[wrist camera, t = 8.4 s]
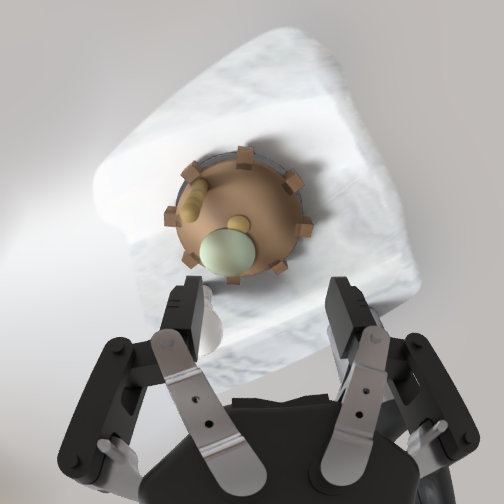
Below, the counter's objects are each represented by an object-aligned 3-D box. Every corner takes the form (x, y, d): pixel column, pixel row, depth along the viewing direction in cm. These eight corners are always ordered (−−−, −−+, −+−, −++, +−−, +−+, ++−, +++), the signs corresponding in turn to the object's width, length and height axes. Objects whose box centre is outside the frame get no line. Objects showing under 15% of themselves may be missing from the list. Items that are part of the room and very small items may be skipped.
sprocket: (249, 115, 26) (251, 125, 19) (335, 226, 34) (359, 269, 26) (141, 211, 32) (112, 251, 24) (232, 294, 39) (230, 345, 31)
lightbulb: (235, 288, 39) (233, 351, 30) (207, 312, 42) (200, 372, 32) (198, 263, 37) (186, 324, 28) (172, 290, 39) (156, 350, 30)
